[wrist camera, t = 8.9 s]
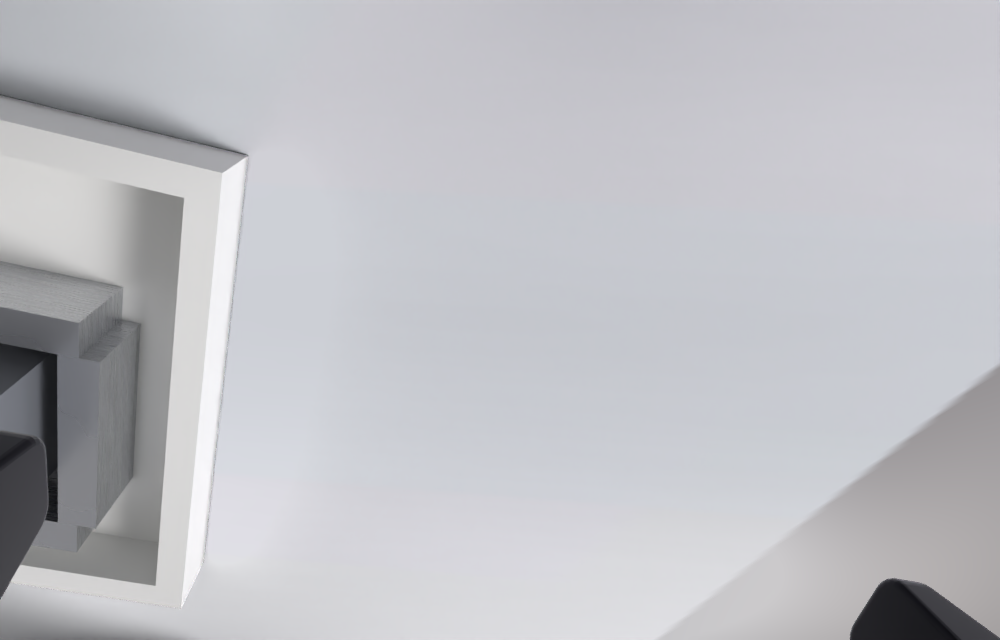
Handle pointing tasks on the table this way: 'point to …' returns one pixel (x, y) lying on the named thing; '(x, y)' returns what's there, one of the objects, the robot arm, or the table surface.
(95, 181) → the walled tray
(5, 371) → the block
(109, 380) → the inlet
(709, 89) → the table surface
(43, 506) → the robot arm
